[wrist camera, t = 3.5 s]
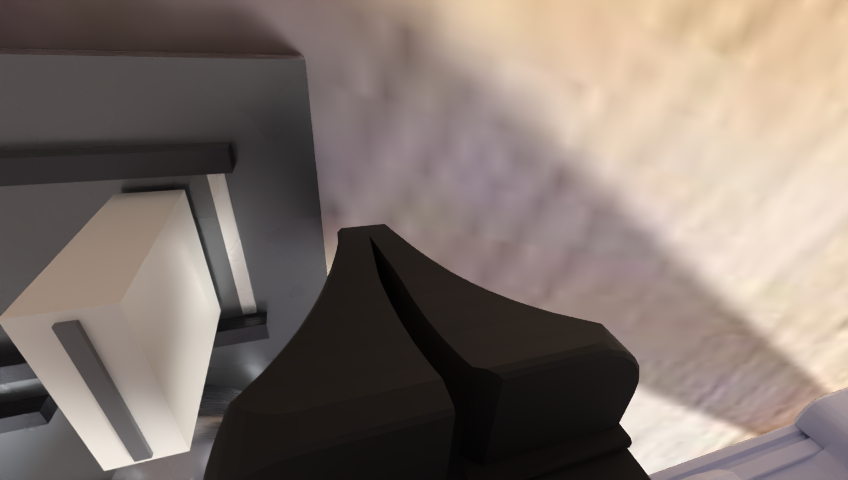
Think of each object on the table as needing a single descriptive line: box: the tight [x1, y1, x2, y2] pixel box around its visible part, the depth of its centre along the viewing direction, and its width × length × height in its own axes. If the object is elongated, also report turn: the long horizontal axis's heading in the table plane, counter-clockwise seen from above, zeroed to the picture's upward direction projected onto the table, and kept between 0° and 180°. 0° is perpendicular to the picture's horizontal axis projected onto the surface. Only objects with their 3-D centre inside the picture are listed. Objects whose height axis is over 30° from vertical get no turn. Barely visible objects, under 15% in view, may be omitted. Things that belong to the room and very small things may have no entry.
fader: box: [0, 189, 221, 471], centre depth 8 cm, size 4×2×5 cm, turn 177°
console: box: [0, 48, 327, 480], centre depth 9 cm, size 16×16×6 cm
